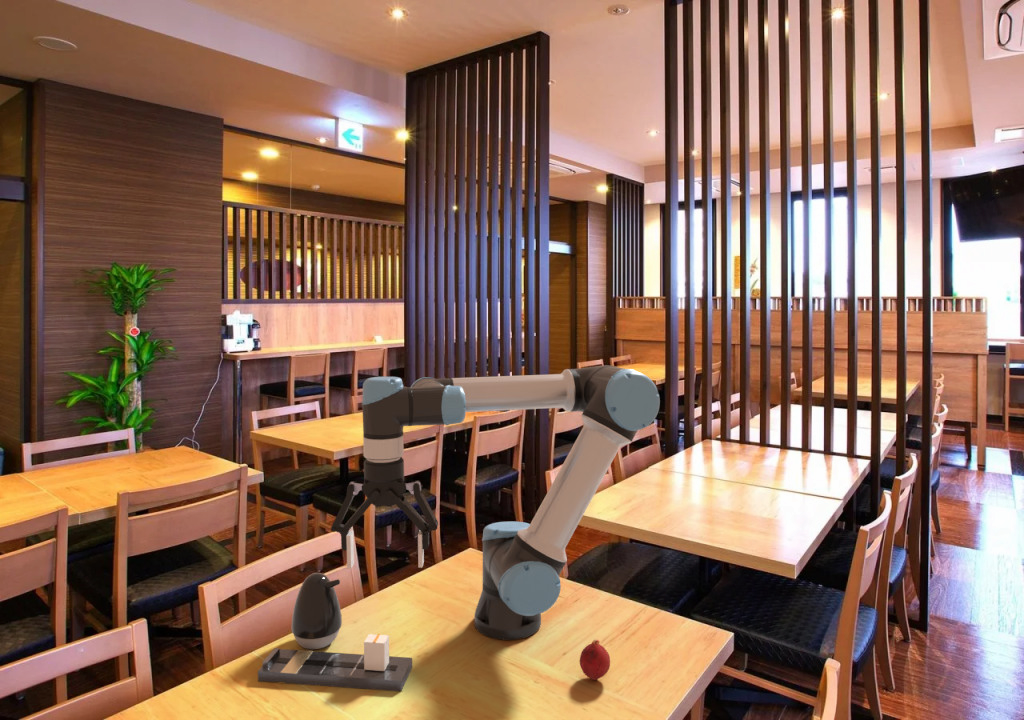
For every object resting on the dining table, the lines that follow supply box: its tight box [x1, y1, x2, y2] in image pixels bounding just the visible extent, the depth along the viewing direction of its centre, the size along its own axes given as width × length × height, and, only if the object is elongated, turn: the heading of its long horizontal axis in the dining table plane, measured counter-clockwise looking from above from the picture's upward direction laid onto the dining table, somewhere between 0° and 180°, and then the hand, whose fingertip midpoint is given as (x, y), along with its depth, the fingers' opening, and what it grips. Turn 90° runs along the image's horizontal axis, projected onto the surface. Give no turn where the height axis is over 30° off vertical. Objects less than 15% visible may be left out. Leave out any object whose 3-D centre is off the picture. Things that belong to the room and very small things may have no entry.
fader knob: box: [363, 633, 390, 671], centre depth 123 cm, size 4×3×6 cm
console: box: [257, 647, 413, 692], centre depth 124 cm, size 28×8×3 cm, turn 84°
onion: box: [579, 638, 611, 681], centre depth 123 cm, size 6×6×8 cm
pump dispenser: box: [291, 572, 343, 650], centre depth 135 cm, size 10×10×15 cm
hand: (386, 565), depth 124 cm, fingers open, 13 cm apart
